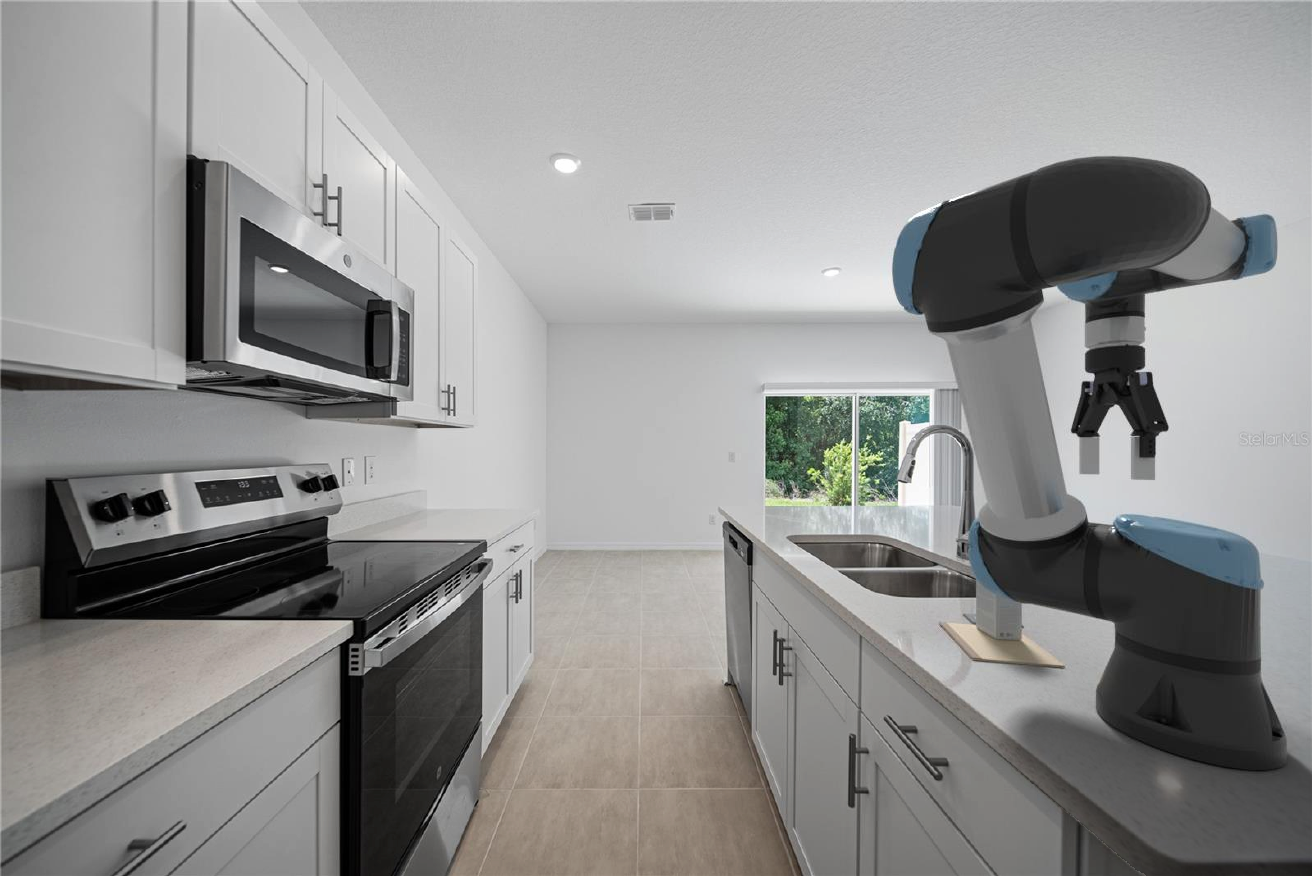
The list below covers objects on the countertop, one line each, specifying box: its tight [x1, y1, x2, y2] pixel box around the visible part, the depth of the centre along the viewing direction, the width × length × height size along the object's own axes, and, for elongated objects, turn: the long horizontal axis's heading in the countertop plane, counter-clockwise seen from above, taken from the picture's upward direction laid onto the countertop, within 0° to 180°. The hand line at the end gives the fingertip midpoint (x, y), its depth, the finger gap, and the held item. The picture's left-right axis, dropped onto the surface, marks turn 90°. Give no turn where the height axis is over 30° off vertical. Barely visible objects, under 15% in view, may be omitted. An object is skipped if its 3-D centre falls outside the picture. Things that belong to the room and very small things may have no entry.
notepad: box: [938, 621, 1066, 668], centre depth 85 cm, size 16×12×1 cm
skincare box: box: [975, 577, 1023, 640], centre depth 89 cm, size 6×4×12 cm
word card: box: [962, 612, 1024, 628], centre depth 96 cm, size 5×8×1 cm, turn 78°
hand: (1114, 477), depth 87 cm, fingers open, 13 cm apart
